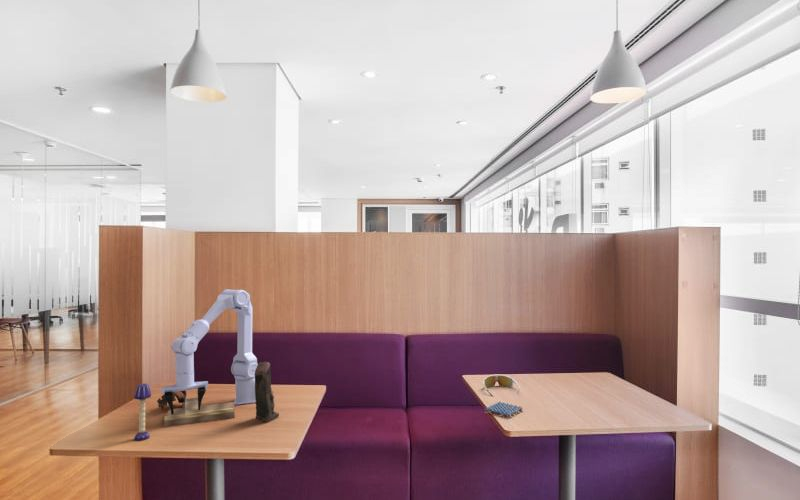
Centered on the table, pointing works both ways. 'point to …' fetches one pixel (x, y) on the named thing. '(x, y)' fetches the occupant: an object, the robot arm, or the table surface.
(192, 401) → the wooden mallet
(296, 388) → the table surface
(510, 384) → the sunglasses
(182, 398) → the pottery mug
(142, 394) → the toy lamp
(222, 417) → the walnut board
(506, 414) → the woven mat
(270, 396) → the statue
